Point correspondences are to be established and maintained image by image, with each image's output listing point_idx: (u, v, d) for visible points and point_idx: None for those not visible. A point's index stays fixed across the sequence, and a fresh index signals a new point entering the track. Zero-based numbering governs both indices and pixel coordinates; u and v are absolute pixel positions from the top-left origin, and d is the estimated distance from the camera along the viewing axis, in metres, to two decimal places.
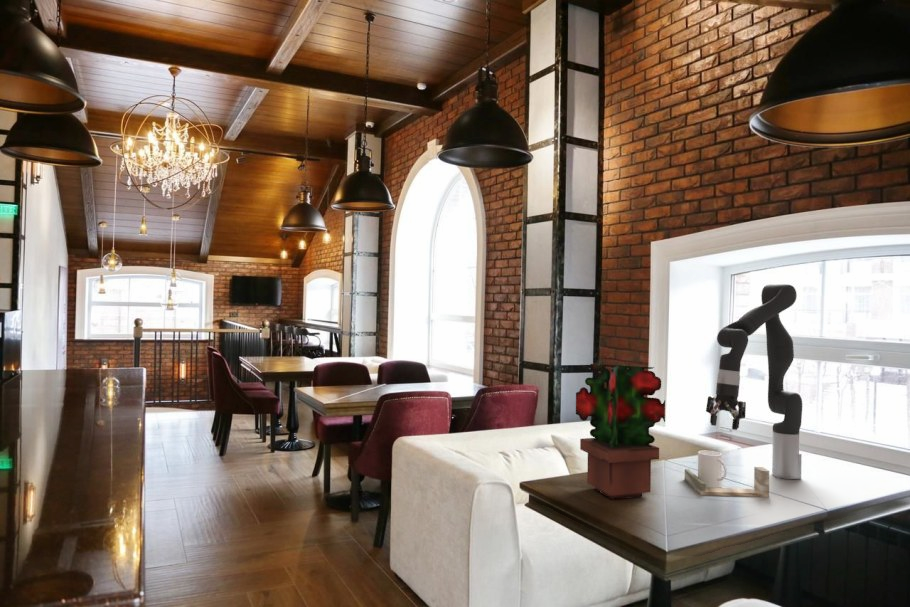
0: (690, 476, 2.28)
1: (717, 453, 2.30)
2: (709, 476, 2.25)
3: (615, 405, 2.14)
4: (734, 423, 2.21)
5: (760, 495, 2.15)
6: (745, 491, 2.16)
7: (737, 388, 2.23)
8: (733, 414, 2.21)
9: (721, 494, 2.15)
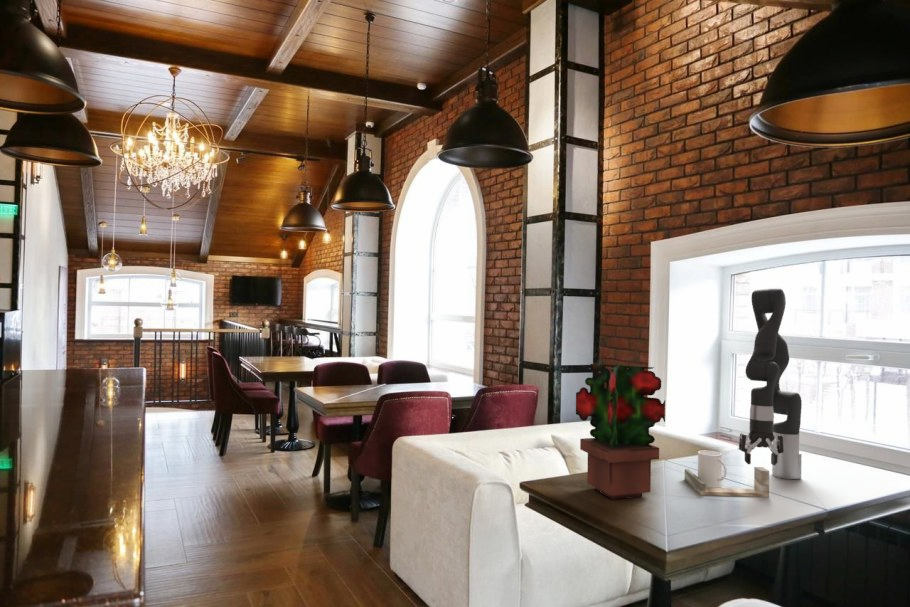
0: (690, 476, 2.28)
1: (717, 453, 2.30)
2: (709, 476, 2.25)
3: (615, 405, 2.14)
4: (775, 458, 2.16)
5: (760, 495, 2.15)
6: (745, 491, 2.16)
7: None
8: (774, 450, 2.15)
9: (721, 494, 2.15)
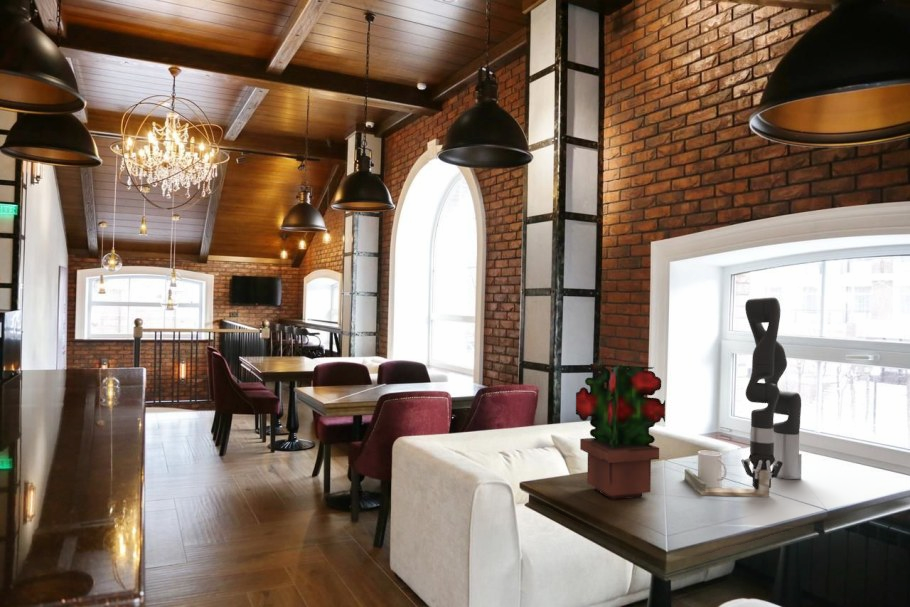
0: (690, 476, 2.28)
1: (717, 453, 2.30)
2: (709, 476, 2.25)
3: (615, 405, 2.14)
4: (769, 483, 2.16)
5: (760, 495, 2.15)
6: (745, 491, 2.16)
7: None
8: (769, 474, 2.16)
9: (721, 494, 2.15)
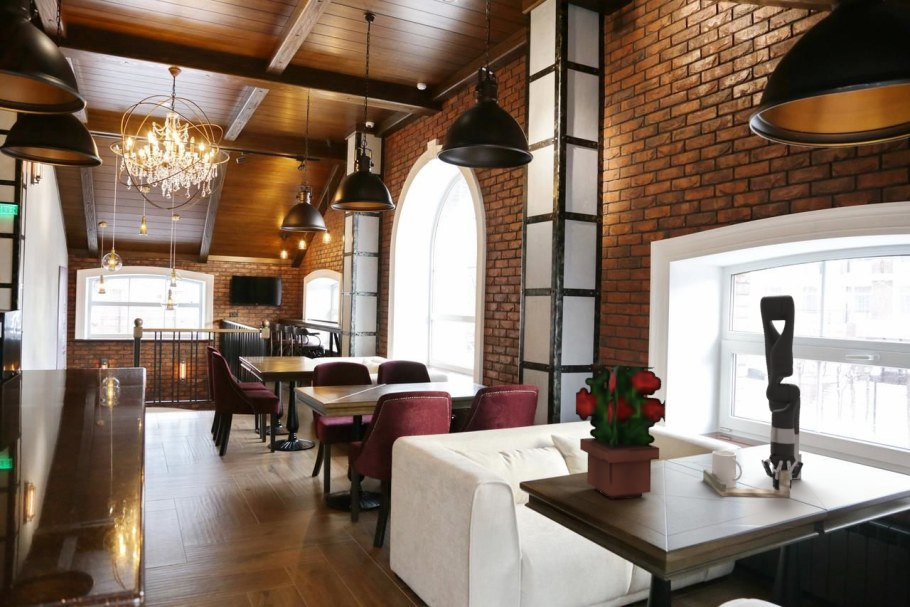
0: (709, 477, 2.27)
1: (731, 453, 2.30)
2: (724, 476, 2.25)
3: (615, 405, 2.14)
4: None
5: (781, 496, 2.14)
6: (765, 492, 2.16)
7: None
8: (790, 474, 2.15)
9: (741, 495, 2.15)
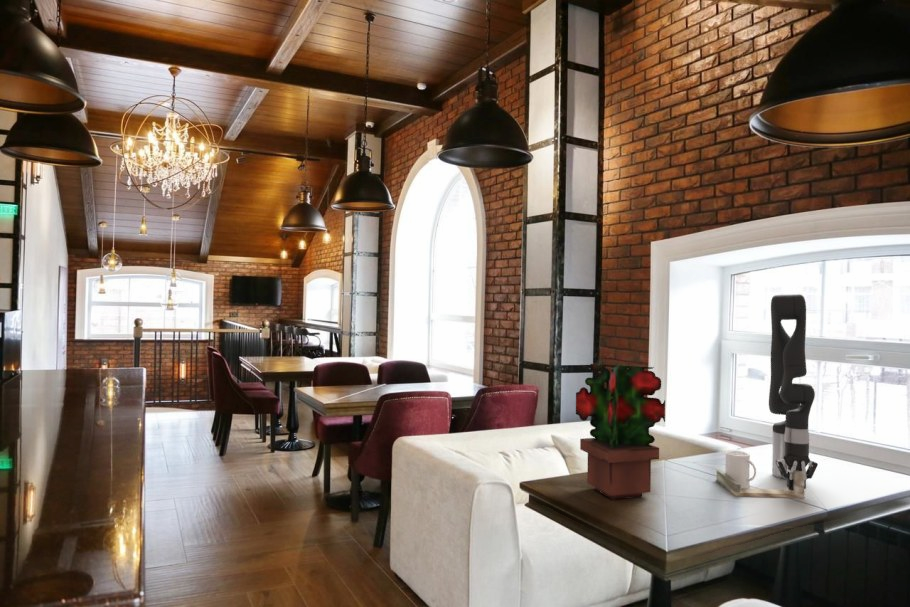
0: (723, 477, 2.27)
1: (744, 453, 2.30)
2: (738, 477, 2.25)
3: (615, 405, 2.14)
4: None
5: (795, 496, 2.14)
6: (780, 492, 2.16)
7: None
8: (804, 475, 2.15)
9: (756, 495, 2.15)
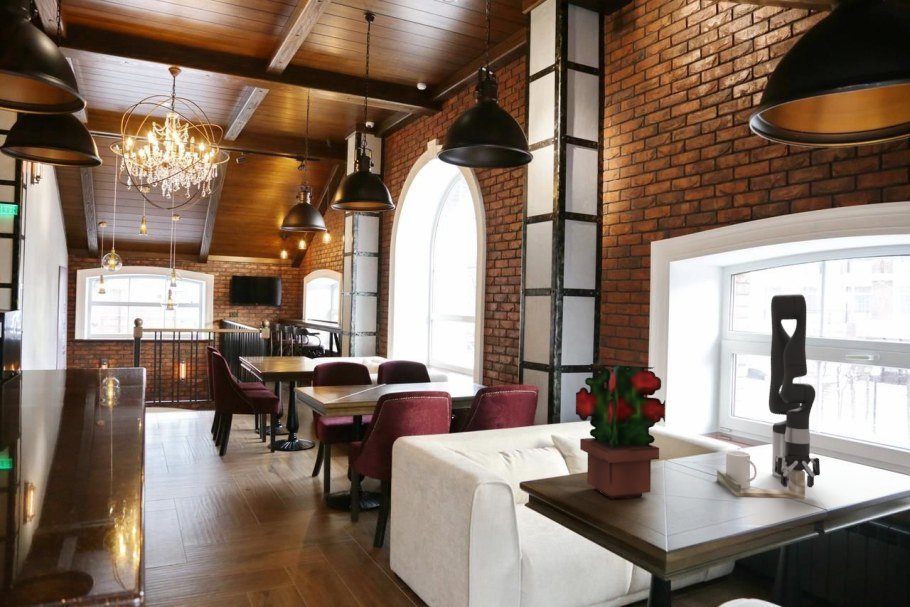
0: (723, 477, 2.27)
1: (745, 453, 2.30)
2: (738, 477, 2.25)
3: (615, 405, 2.14)
4: (811, 481, 2.15)
5: (796, 496, 2.14)
6: (780, 492, 2.16)
7: None
8: (810, 472, 2.15)
9: (756, 495, 2.15)
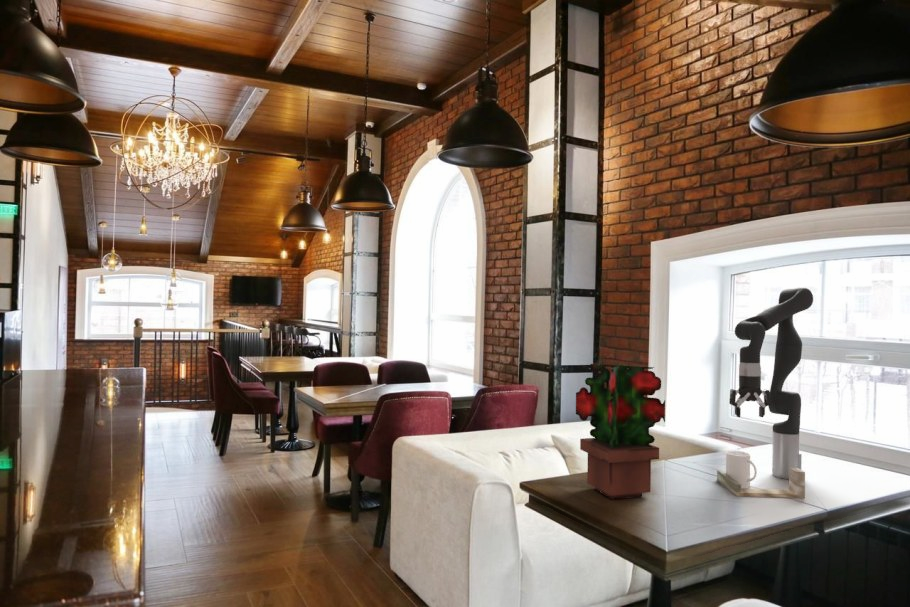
0: (723, 477, 2.27)
1: (745, 453, 2.30)
2: (738, 477, 2.25)
3: (615, 405, 2.14)
4: (763, 411, 2.34)
5: (796, 496, 2.14)
6: (780, 492, 2.16)
7: None
8: (762, 403, 2.34)
9: (756, 495, 2.15)
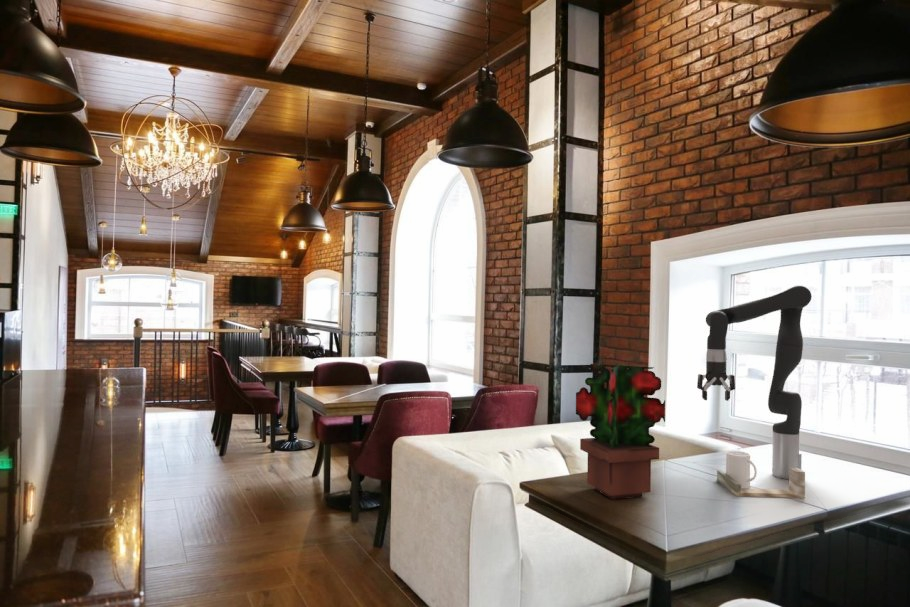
0: (723, 477, 2.27)
1: (745, 453, 2.30)
2: (738, 477, 2.25)
3: (615, 405, 2.14)
4: (728, 395, 2.50)
5: (796, 496, 2.14)
6: (780, 492, 2.16)
7: None
8: (727, 387, 2.50)
9: (756, 495, 2.15)
